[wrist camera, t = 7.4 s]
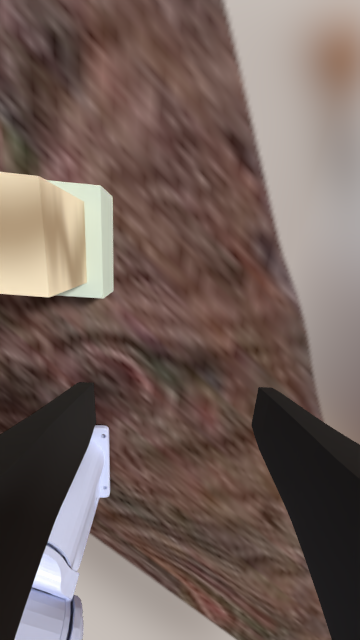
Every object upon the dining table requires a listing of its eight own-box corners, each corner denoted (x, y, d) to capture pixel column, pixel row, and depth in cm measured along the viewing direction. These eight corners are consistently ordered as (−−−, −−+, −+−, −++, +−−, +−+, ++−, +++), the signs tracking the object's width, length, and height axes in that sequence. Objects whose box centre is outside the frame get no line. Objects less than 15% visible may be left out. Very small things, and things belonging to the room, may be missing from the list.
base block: (113, 291, 19) (102, 298, 16) (25, 284, 18) (-2, 291, 15) (112, 196, 16) (100, 185, 14) (13, 187, 16) (-21, 173, 13)
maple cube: (87, 282, 15) (49, 297, 11) (10, 276, 15) (-65, 288, 10) (84, 201, 14) (39, 176, 9) (-1, 192, 13) (-94, 161, 9)
